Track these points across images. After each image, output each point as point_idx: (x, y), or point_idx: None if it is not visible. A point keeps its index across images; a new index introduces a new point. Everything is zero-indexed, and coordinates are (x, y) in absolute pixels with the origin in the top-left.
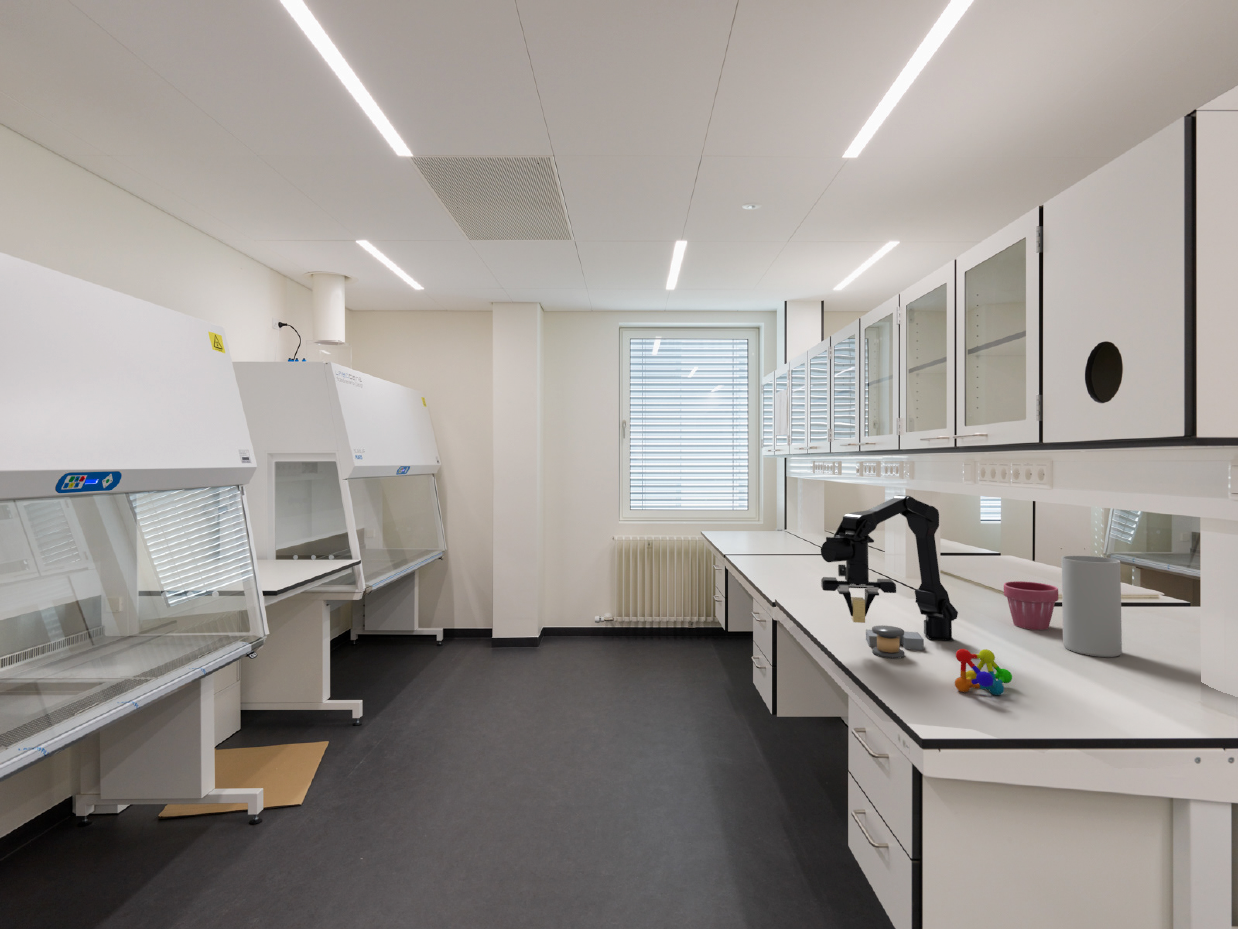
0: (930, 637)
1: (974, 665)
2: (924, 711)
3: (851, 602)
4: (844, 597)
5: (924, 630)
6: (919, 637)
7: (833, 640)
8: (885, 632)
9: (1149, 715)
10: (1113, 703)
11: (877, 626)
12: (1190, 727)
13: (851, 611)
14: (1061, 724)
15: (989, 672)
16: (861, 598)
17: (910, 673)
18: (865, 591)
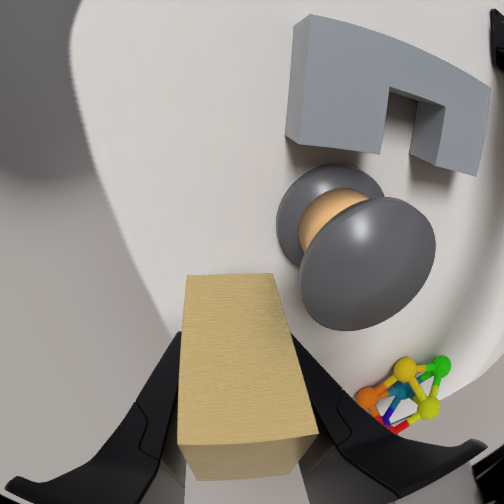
0: (498, 60)
1: None
2: None
3: (184, 465)
4: (109, 449)
5: (502, 28)
6: (475, 155)
7: (128, 66)
8: (341, 323)
9: (479, 363)
10: (483, 350)
11: (350, 229)
12: (479, 372)
13: None
14: (397, 412)
15: (412, 400)
16: (287, 455)
17: (322, 354)
18: (358, 501)
